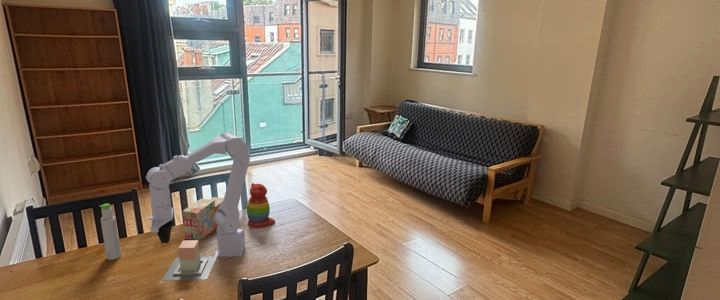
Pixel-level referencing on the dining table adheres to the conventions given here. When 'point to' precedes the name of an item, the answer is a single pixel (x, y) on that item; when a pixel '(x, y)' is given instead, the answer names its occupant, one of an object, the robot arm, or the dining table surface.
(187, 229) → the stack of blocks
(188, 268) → the sage brick
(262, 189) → the stacking bear
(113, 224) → the bottle
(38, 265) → the dining table surface
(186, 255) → the peach block
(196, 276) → the baseplate
